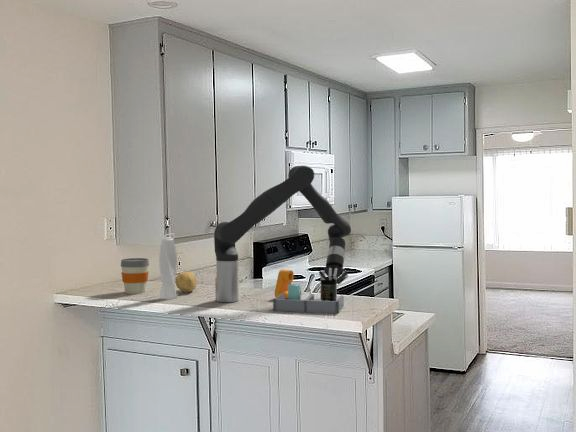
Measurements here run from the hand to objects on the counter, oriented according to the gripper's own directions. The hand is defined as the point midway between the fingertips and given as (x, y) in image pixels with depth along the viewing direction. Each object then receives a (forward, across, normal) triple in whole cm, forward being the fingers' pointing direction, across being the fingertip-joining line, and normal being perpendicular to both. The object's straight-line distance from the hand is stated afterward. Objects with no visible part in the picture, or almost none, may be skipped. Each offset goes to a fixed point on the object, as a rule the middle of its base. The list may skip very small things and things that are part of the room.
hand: (331, 290), depth 261 cm
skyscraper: (+9, -70, -3) cm, 70 cm away
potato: (-3, -68, +10) cm, 69 cm away
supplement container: (+8, 0, -2) cm, 9 cm away
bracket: (0, -20, +6) cm, 21 cm away
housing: (+16, -6, -10) cm, 19 cm away
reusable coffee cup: (+2, -91, +5) cm, 91 cm away
